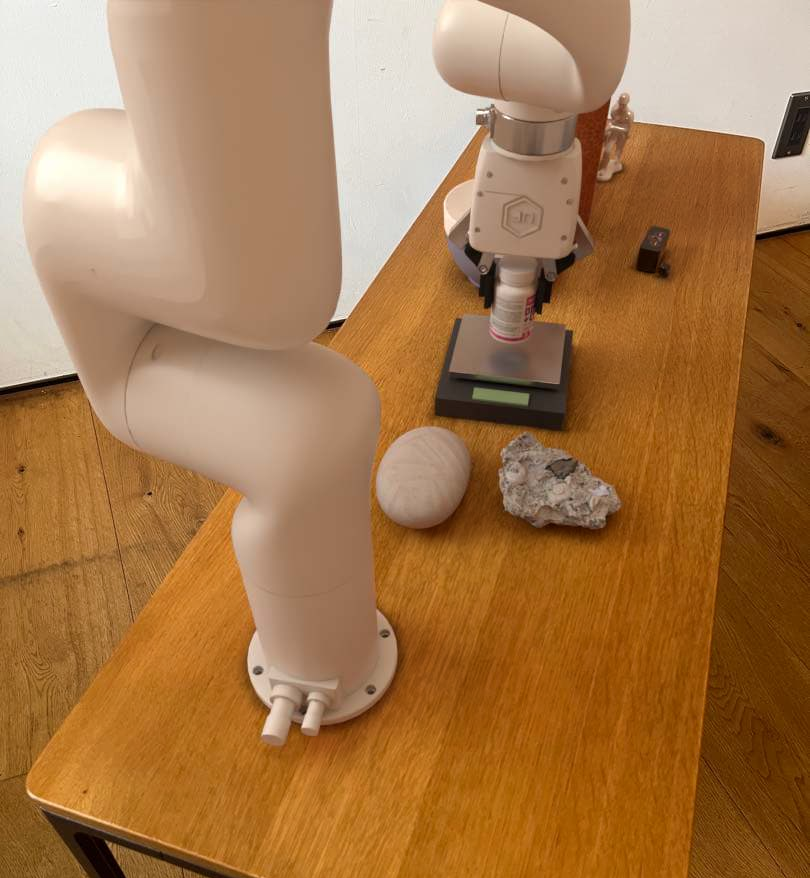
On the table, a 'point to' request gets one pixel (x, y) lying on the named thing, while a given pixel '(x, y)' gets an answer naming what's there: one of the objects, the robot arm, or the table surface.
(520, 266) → the pill bottle
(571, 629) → the table surface
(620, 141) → the figurine
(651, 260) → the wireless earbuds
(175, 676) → the table surface
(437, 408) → the scale
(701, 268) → the table surface
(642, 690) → the table surface
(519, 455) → the mineral specimen
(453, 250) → the bowl
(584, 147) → the book
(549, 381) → the scale pan
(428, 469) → the decorative stone
